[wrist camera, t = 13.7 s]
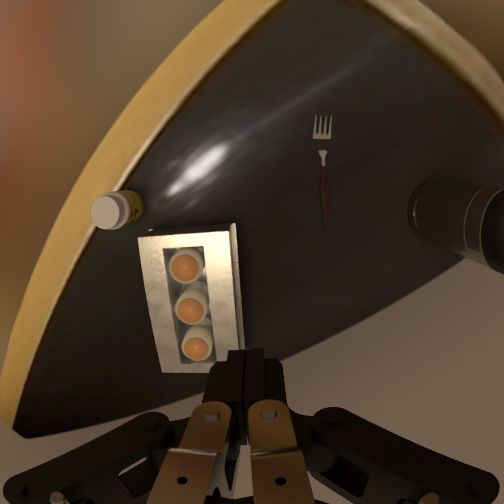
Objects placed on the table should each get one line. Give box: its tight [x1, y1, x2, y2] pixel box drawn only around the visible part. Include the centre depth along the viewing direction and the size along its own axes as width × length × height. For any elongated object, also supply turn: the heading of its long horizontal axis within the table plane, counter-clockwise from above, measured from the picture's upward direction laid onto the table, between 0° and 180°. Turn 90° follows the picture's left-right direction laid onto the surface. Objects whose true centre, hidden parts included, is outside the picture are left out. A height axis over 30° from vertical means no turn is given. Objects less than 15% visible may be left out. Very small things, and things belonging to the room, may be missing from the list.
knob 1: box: [169, 246, 206, 284], centre depth 39 cm, size 4×4×6 cm
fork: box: [313, 116, 332, 232], centre depth 40 cm, size 3×16×2 cm, turn 2°
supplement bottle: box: [91, 190, 144, 229], centre depth 38 cm, size 5×5×8 cm
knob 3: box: [181, 317, 214, 361], centre depth 42 cm, size 4×4×6 cm
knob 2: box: [175, 281, 210, 325], centre depth 40 cm, size 4×4×6 cm
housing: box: [138, 222, 245, 373], centre depth 41 cm, size 12×19×7 cm, turn 3°
